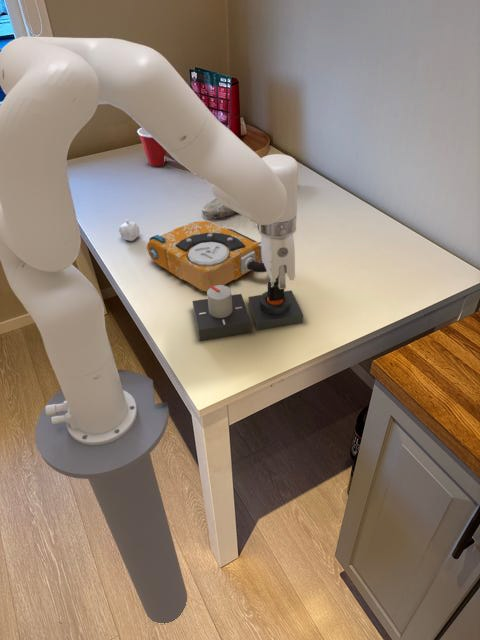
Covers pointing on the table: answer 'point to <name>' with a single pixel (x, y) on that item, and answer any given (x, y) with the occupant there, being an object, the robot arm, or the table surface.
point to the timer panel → (221, 320)
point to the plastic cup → (152, 149)
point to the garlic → (129, 230)
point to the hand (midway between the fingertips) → (275, 297)
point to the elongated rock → (216, 210)
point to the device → (206, 254)
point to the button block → (275, 311)
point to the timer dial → (219, 301)
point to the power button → (276, 302)
